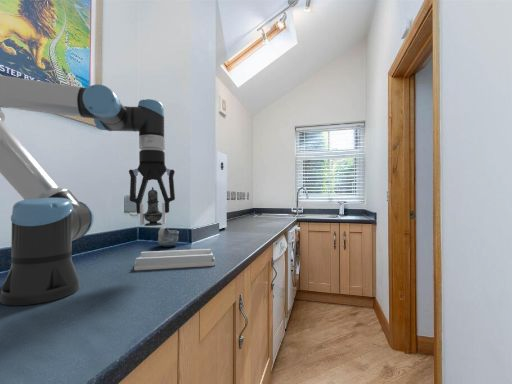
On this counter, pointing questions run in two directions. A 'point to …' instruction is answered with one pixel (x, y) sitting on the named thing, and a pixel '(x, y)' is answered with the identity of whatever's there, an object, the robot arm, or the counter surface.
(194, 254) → the rail board
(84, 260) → the counter surface
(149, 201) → the stone tower figurine
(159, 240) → the mug
